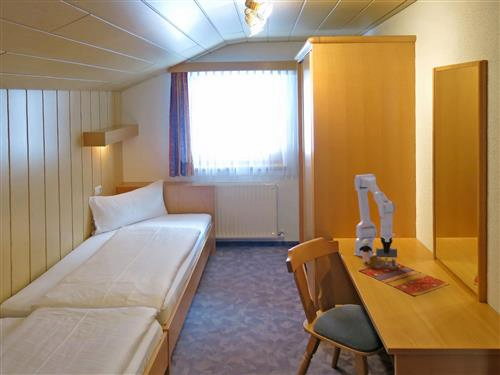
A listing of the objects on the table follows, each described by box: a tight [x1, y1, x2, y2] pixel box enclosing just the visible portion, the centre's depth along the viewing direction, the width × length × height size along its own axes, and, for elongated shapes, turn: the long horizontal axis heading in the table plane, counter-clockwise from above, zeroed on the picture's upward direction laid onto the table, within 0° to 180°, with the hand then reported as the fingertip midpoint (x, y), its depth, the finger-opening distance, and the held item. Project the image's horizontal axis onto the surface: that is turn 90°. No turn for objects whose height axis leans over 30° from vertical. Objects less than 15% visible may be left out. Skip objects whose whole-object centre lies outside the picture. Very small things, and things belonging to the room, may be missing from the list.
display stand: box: [374, 257, 399, 269], centre depth 266 cm, size 11×6×4 cm, turn 78°
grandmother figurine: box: [358, 239, 374, 265], centre depth 273 cm, size 8×4×13 cm, turn 84°
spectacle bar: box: [375, 247, 398, 259], centre depth 266 cm, size 10×3×4 cm, turn 78°
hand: (386, 252), depth 266 cm, fingers closed on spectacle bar, 3 cm apart
